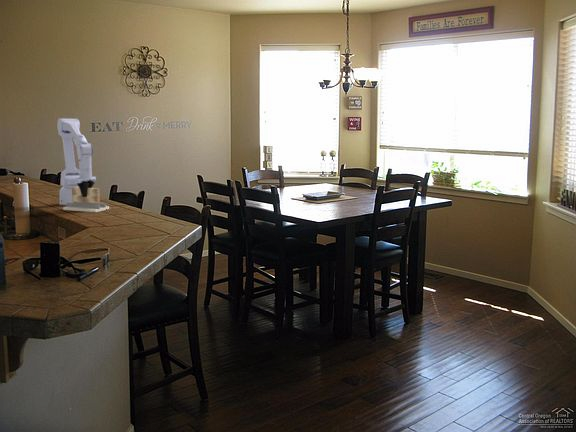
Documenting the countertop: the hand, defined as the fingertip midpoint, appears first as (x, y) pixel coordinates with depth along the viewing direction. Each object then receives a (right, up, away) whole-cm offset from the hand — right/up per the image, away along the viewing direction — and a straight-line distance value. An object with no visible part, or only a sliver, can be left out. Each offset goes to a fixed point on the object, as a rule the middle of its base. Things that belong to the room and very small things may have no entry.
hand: (86, 196), depth 293 cm
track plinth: (0, -6, +1) cm, 6 cm away
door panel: (0, -3, 0) cm, 3 cm away
